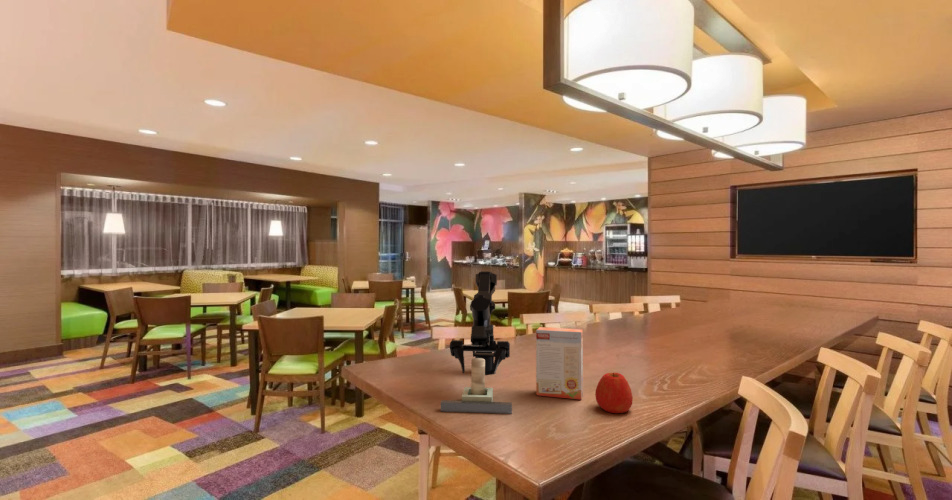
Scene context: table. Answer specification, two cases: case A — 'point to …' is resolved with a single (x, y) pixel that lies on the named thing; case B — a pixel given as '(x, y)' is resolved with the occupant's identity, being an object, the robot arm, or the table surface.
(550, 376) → the cracker box
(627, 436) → the table surface
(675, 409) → the table surface
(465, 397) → the socket block
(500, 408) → the rail
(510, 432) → the table surface
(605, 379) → the apple
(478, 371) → the birch dowel
